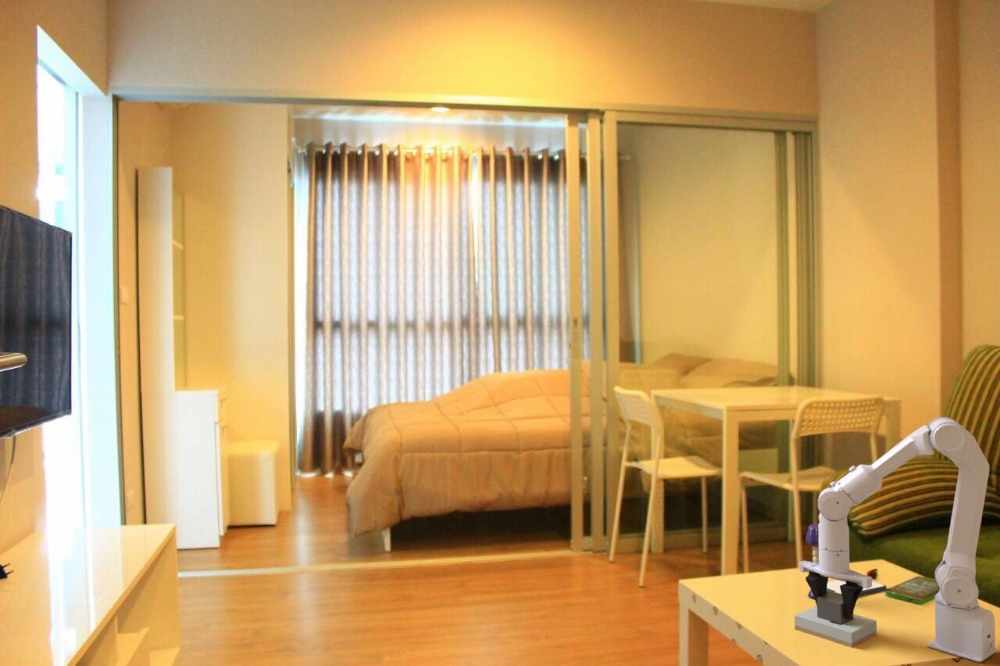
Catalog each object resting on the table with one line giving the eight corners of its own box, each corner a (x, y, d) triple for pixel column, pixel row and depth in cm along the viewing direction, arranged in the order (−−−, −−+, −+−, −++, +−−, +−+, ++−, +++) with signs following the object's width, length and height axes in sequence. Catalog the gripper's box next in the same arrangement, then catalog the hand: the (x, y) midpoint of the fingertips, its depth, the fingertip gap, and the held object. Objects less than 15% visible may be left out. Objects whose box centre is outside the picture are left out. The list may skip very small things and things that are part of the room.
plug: (853, 626, 154) (853, 598, 154) (841, 632, 150) (840, 604, 151) (830, 619, 158) (829, 592, 158) (817, 624, 154) (816, 597, 154)
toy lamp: (830, 601, 171) (829, 528, 171) (808, 600, 172) (807, 527, 172) (825, 594, 176) (824, 523, 176) (804, 593, 177) (803, 522, 177)
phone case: (857, 581, 187) (811, 591, 180) (857, 575, 187) (811, 584, 180) (889, 592, 179) (842, 602, 172) (889, 585, 179) (842, 595, 172)
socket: (876, 634, 152) (876, 620, 152) (851, 647, 146) (851, 632, 146) (820, 617, 162) (820, 604, 162) (794, 628, 156) (794, 615, 156)
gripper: (879, 551, 151) (880, 619, 151) (811, 537, 162) (812, 600, 162) (861, 558, 146) (862, 628, 146) (793, 543, 158) (794, 607, 158)
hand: (834, 614), depth 154 cm, fingers closed on plug, 5 cm apart
